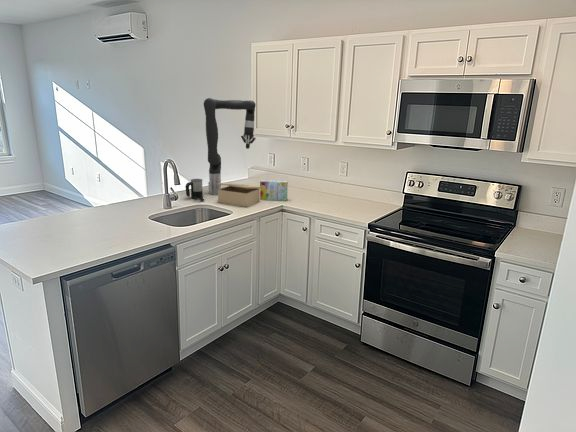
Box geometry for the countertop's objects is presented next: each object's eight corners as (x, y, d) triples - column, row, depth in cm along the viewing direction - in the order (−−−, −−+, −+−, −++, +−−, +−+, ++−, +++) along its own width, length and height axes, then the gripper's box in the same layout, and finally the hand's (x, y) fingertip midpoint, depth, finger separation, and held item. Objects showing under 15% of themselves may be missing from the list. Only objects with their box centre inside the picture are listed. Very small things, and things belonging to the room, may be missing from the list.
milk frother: (197, 196, 311) (196, 178, 307) (212, 199, 304) (211, 180, 300) (184, 199, 300) (183, 181, 295) (199, 203, 292) (199, 183, 288)
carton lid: (217, 184, 290) (217, 182, 290) (231, 184, 308) (231, 183, 308) (246, 188, 279) (247, 186, 279) (260, 188, 297) (260, 187, 297)
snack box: (287, 199, 309) (287, 180, 304) (286, 201, 303) (287, 182, 299) (261, 198, 311) (261, 179, 306) (259, 199, 305) (259, 181, 301)
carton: (218, 202, 294) (217, 189, 291) (232, 197, 310) (232, 185, 308) (246, 207, 284) (246, 193, 281) (259, 201, 300) (259, 188, 297)
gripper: (239, 125, 307) (238, 147, 312) (254, 127, 303) (252, 150, 307) (244, 125, 314) (242, 147, 319) (258, 127, 309) (257, 149, 314)
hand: (247, 148), depth 313 cm, fingers closed
